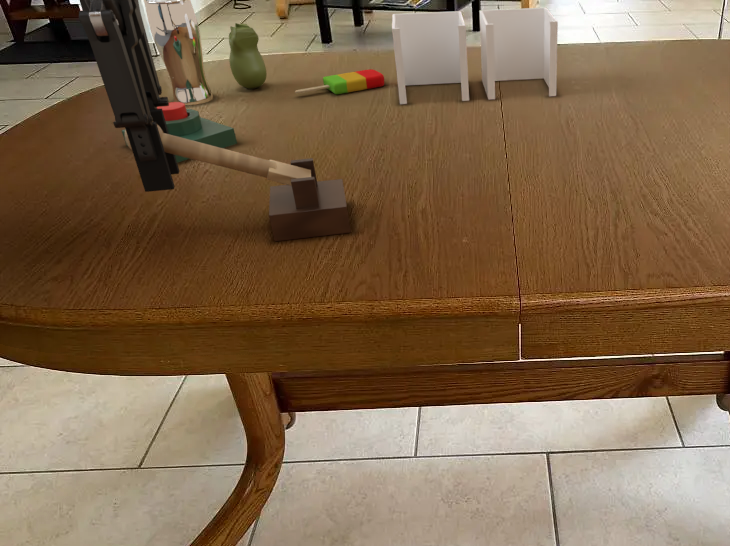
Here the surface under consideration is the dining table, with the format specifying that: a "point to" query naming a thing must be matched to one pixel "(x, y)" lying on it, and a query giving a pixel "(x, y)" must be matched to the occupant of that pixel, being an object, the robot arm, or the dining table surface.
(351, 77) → the popsicle
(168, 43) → the beer glass
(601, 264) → the dining table surface
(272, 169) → the wooden rod
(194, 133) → the button box
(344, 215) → the holder
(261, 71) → the pear
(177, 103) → the button
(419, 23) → the twin white cubbies
